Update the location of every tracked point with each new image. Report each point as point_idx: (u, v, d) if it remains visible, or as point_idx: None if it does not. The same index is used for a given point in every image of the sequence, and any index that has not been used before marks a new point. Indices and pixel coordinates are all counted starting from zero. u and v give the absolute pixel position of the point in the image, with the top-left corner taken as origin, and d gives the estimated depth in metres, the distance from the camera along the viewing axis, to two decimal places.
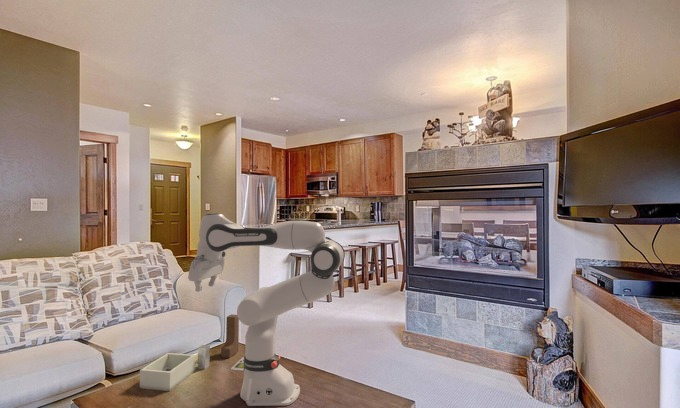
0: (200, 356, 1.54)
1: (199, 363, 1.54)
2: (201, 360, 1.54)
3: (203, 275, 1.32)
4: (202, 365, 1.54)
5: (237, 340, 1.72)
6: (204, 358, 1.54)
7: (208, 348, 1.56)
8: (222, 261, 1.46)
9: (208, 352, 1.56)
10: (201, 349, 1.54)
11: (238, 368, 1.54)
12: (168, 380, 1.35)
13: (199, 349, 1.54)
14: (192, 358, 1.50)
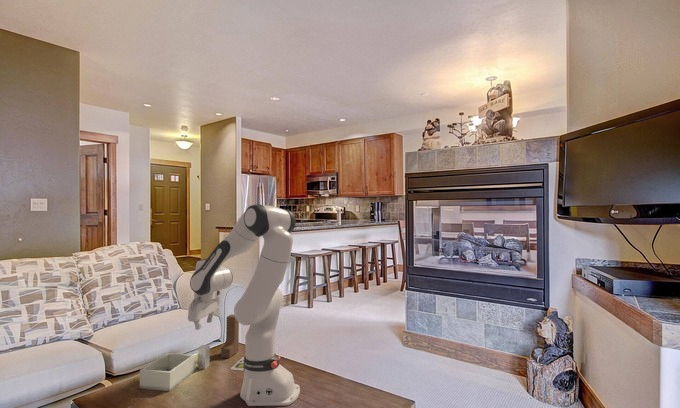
0: (200, 356, 1.54)
1: (199, 363, 1.54)
2: (201, 360, 1.54)
3: (201, 315, 1.50)
4: (202, 365, 1.54)
5: (237, 340, 1.72)
6: (204, 358, 1.54)
7: (208, 348, 1.56)
8: (217, 299, 1.64)
9: (208, 352, 1.56)
10: (201, 349, 1.54)
11: (238, 368, 1.54)
12: (168, 380, 1.35)
13: (199, 349, 1.54)
14: (192, 358, 1.50)
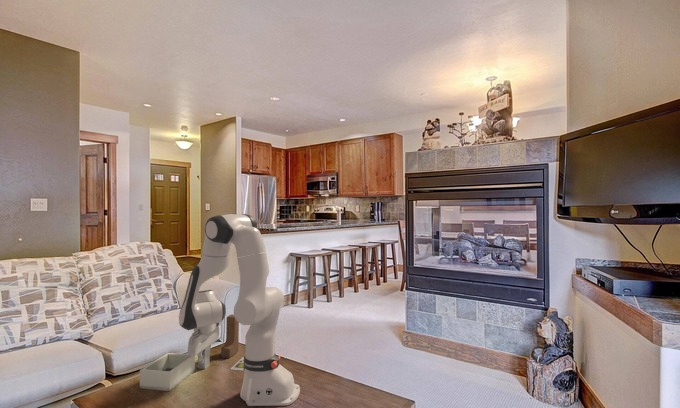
0: None
1: (199, 363, 1.54)
2: None
3: (200, 348, 1.50)
4: (202, 365, 1.54)
5: (237, 340, 1.72)
6: (204, 358, 1.54)
7: (208, 348, 1.56)
8: (217, 329, 1.63)
9: (208, 352, 1.56)
10: None
11: (238, 368, 1.54)
12: (168, 380, 1.35)
13: None
14: (192, 358, 1.50)
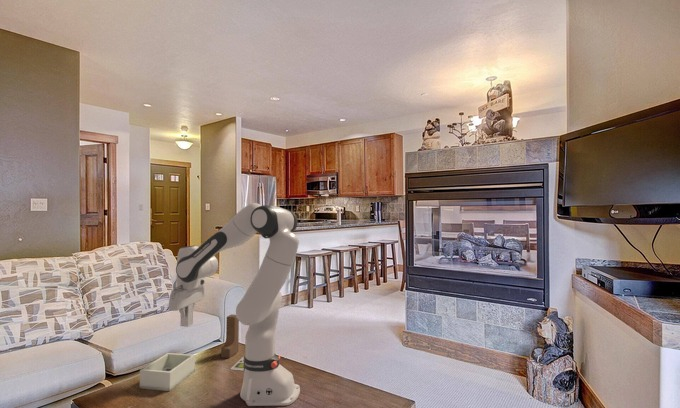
0: None
1: (182, 321, 1.49)
2: (184, 317, 1.49)
3: (183, 304, 1.45)
4: (184, 322, 1.48)
5: (237, 340, 1.72)
6: (186, 315, 1.48)
7: (191, 306, 1.51)
8: (202, 288, 1.58)
9: (191, 310, 1.51)
10: None
11: (238, 368, 1.54)
12: (168, 380, 1.35)
13: None
14: (192, 358, 1.50)
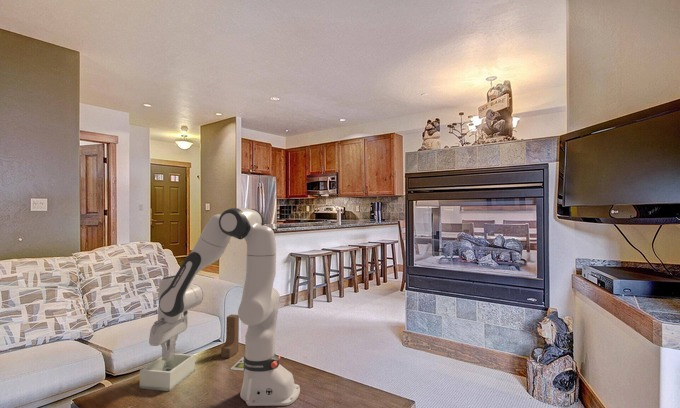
0: None
1: (163, 354, 1.43)
2: (166, 351, 1.43)
3: (164, 338, 1.39)
4: (166, 356, 1.42)
5: (237, 340, 1.72)
6: (168, 349, 1.42)
7: (174, 338, 1.45)
8: (185, 319, 1.52)
9: (174, 343, 1.45)
10: None
11: (238, 368, 1.54)
12: (168, 380, 1.35)
13: None
14: (192, 358, 1.50)
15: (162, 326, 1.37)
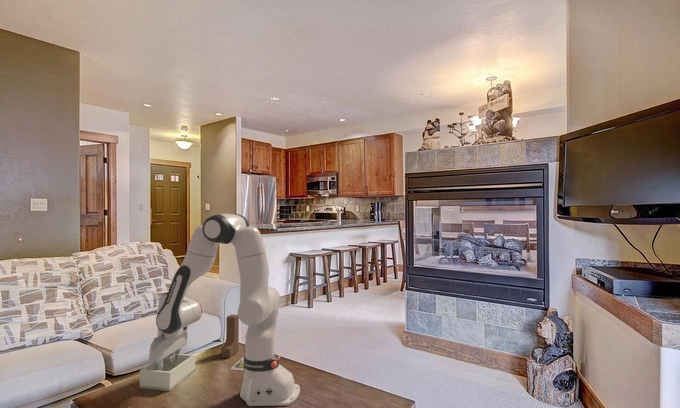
0: None
1: None
2: (165, 369, 1.42)
3: (164, 354, 1.38)
4: None
5: (237, 340, 1.72)
6: (168, 367, 1.42)
7: (173, 356, 1.45)
8: (185, 333, 1.52)
9: (173, 361, 1.45)
10: None
11: (238, 368, 1.54)
12: (168, 380, 1.35)
13: None
14: (192, 358, 1.50)
15: (162, 342, 1.37)
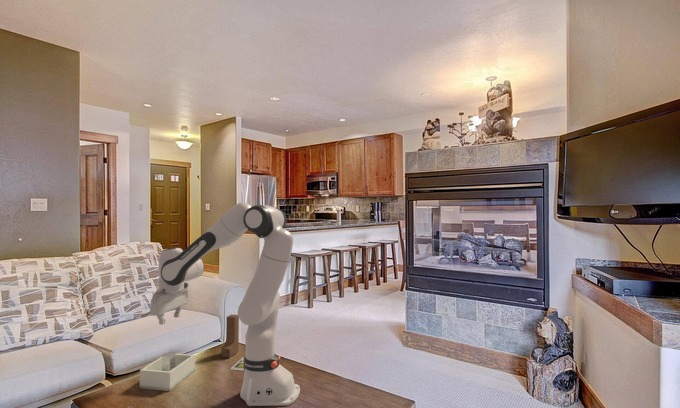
0: (164, 365, 1.42)
1: None
2: (165, 369, 1.42)
3: (165, 308, 1.39)
4: None
5: (237, 340, 1.72)
6: (168, 367, 1.42)
7: (173, 356, 1.45)
8: (186, 292, 1.52)
9: (173, 361, 1.45)
10: (165, 357, 1.42)
11: (238, 368, 1.54)
12: (168, 380, 1.35)
13: (163, 357, 1.43)
14: (192, 358, 1.50)
15: (163, 296, 1.38)
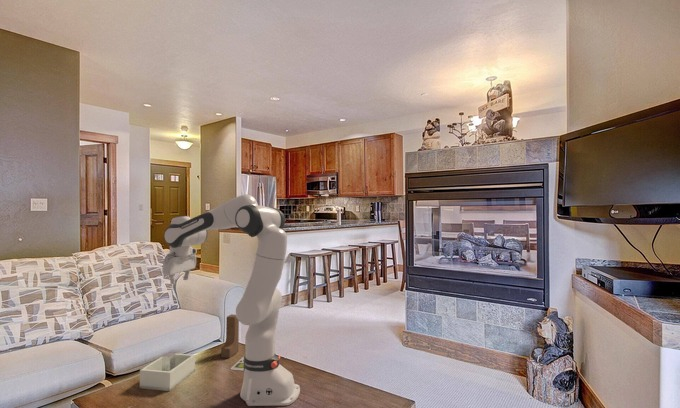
0: (164, 365, 1.42)
1: None
2: (165, 369, 1.42)
3: (176, 269, 1.54)
4: None
5: (237, 340, 1.72)
6: (168, 367, 1.42)
7: (173, 356, 1.45)
8: (194, 257, 1.67)
9: (173, 361, 1.45)
10: (165, 357, 1.42)
11: (238, 368, 1.54)
12: (168, 380, 1.35)
13: (163, 357, 1.43)
14: (192, 358, 1.50)
15: (174, 258, 1.53)
